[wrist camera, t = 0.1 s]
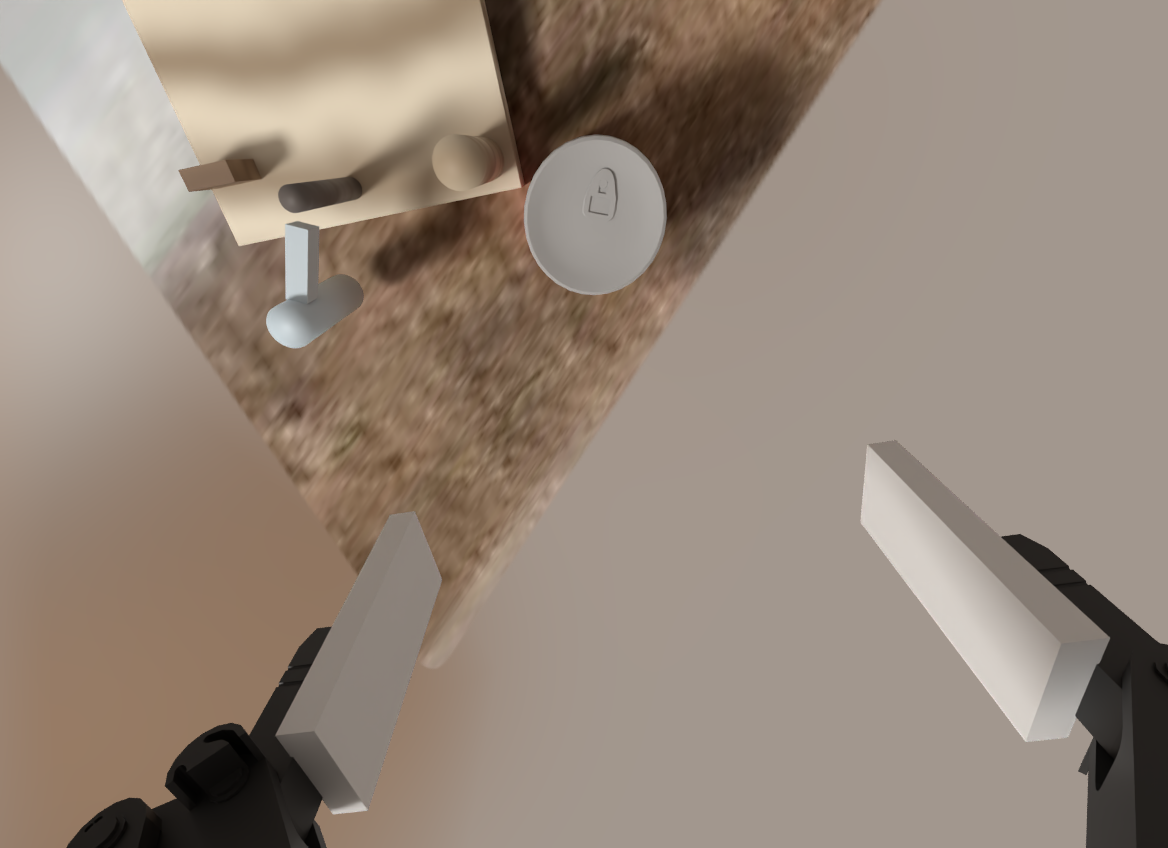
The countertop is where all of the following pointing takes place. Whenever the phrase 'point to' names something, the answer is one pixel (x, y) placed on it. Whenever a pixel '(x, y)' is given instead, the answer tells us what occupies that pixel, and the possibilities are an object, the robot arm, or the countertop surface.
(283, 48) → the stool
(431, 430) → the countertop surface
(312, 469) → the countertop surface
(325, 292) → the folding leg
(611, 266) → the canned food
